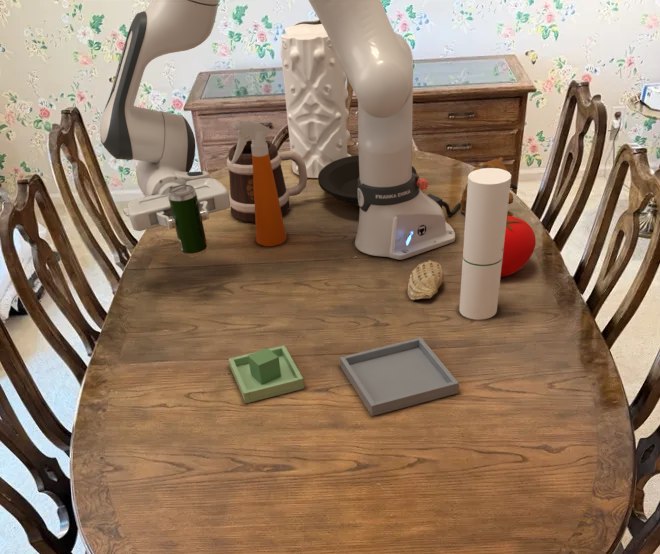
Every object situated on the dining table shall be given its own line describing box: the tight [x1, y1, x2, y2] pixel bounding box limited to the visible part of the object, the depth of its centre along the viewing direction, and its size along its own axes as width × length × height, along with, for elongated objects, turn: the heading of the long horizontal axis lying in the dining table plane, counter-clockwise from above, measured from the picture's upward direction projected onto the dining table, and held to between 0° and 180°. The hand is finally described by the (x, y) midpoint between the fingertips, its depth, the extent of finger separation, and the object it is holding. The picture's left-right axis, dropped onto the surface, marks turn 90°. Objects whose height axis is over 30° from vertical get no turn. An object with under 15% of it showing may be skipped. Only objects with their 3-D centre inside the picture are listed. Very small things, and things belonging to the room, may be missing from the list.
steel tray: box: [339, 336, 460, 417], centre depth 124 cm, size 16×16×2 cm
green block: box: [248, 347, 281, 384], centre depth 126 cm, size 4×4×4 cm
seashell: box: [407, 259, 445, 301], centre depth 144 cm, size 8×6×10 cm
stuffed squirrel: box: [458, 157, 514, 217], centre depth 163 cm, size 10×14×13 cm
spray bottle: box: [231, 119, 287, 247], centre depth 157 cm, size 7×11×26 cm, turn 127°
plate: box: [317, 154, 418, 207], centre depth 178 cm, size 28×24×6 cm
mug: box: [226, 139, 308, 224], centre depth 173 cm, size 20×15×15 cm
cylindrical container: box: [458, 168, 512, 321], centre depth 130 cm, size 7×7×25 cm
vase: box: [280, 23, 352, 179], centre depth 185 cm, size 17×16×32 cm
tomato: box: [500, 215, 537, 278], centre depth 146 cm, size 14×13×10 cm
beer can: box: [168, 185, 208, 257], centre depth 140 cm, size 5×5×12 cm
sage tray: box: [228, 344, 305, 404], centre depth 127 cm, size 11×12×2 cm
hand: (189, 220), depth 139 cm, fingers closed on beer can, 5 cm apart
